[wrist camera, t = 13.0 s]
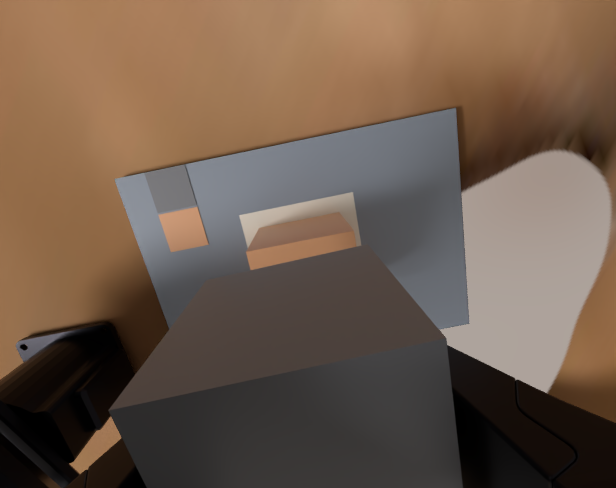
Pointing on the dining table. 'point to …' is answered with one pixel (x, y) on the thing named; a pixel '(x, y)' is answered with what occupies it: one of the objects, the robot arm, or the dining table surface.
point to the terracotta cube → (300, 240)
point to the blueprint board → (313, 209)
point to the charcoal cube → (296, 384)
